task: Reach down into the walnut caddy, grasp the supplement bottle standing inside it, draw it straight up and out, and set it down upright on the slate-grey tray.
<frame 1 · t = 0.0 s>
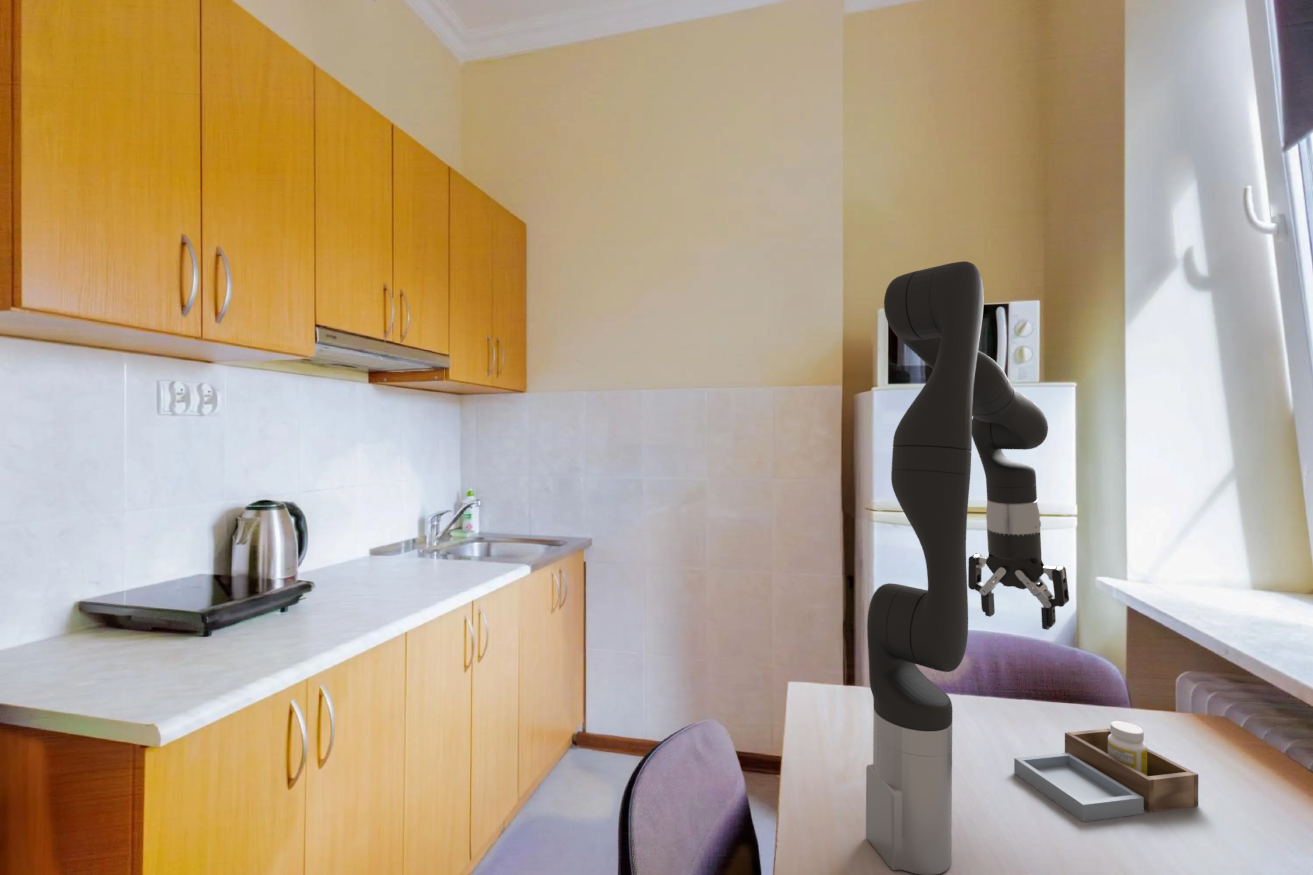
hand: (1017, 621, 97), 22 cm above the table, tool pointing down, fingers open, 8 cm apart
caddy: (1127, 781, 89), on the table
tray: (1075, 791, 86), on the table
supplement bottle: (1127, 782, 89), resting in caddy
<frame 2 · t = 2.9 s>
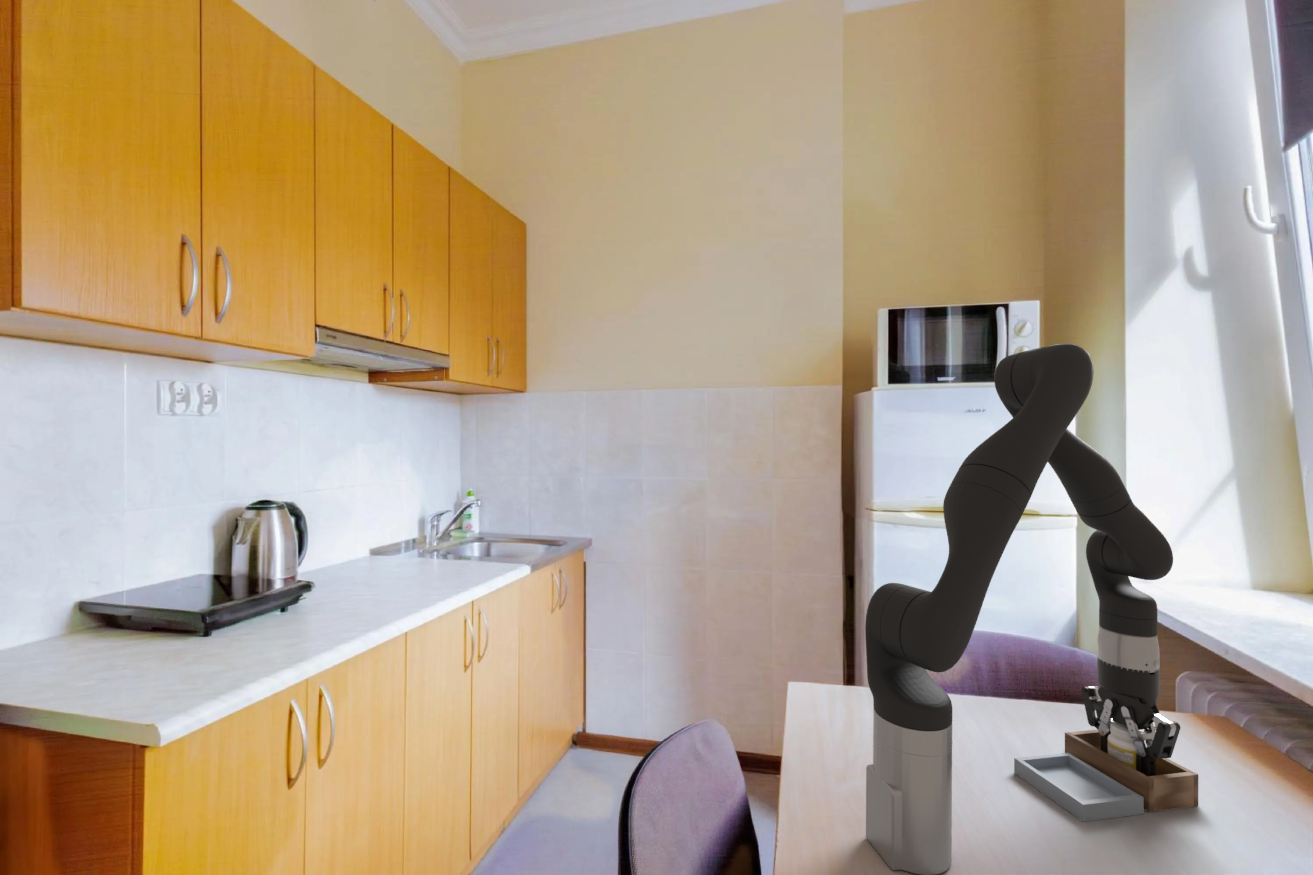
hand: (1127, 769, 89), 2 cm above the table, tool pointing down, fingers closed on supplement bottle, 4 cm apart
supplement bottle: (1127, 782, 89), resting in caddy, touching gripper
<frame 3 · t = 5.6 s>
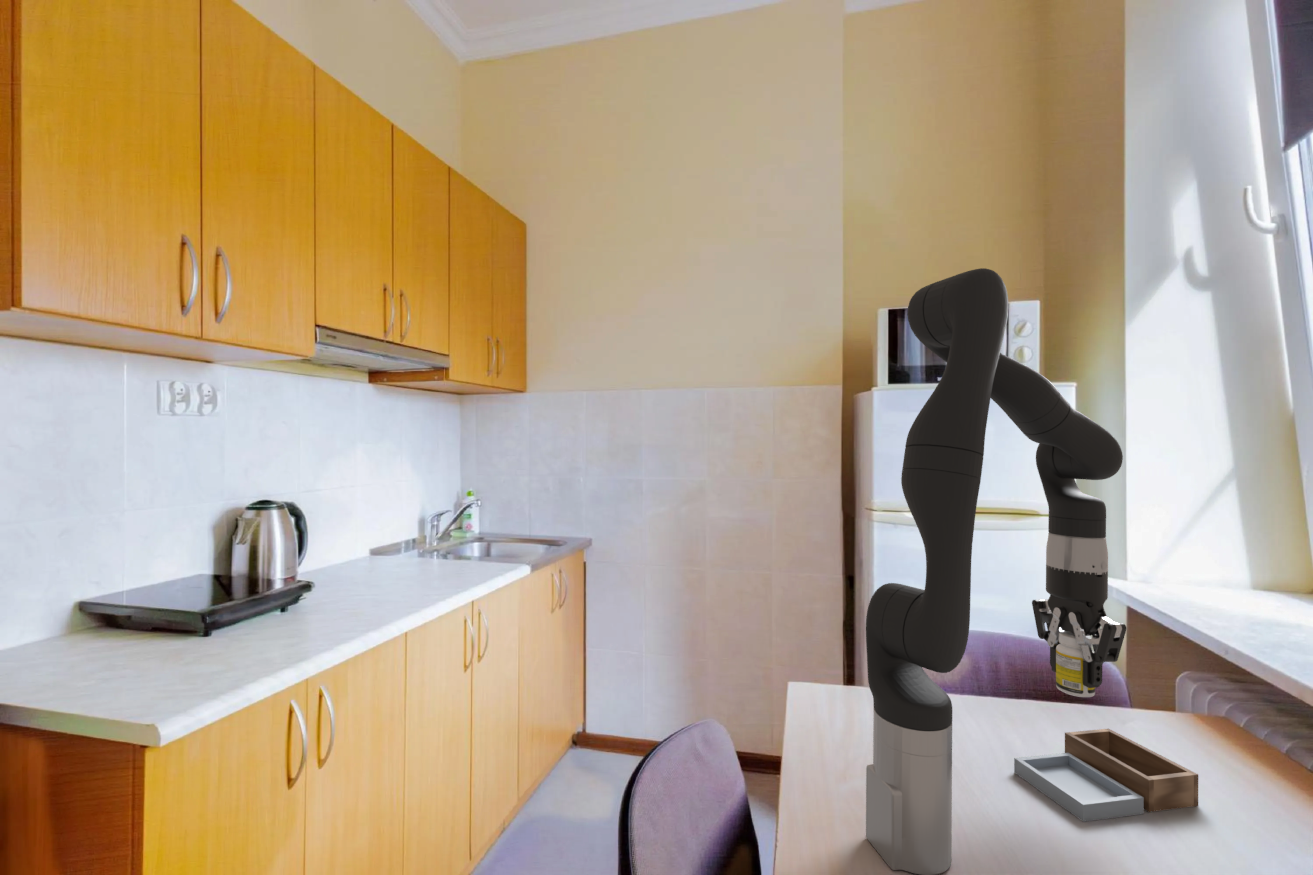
hand: (1075, 678, 86), 17 cm above the table, tool pointing down, fingers closed on supplement bottle, 4 cm apart
supplement bottle: (1074, 692, 86), point 15 cm above the table, touching gripper
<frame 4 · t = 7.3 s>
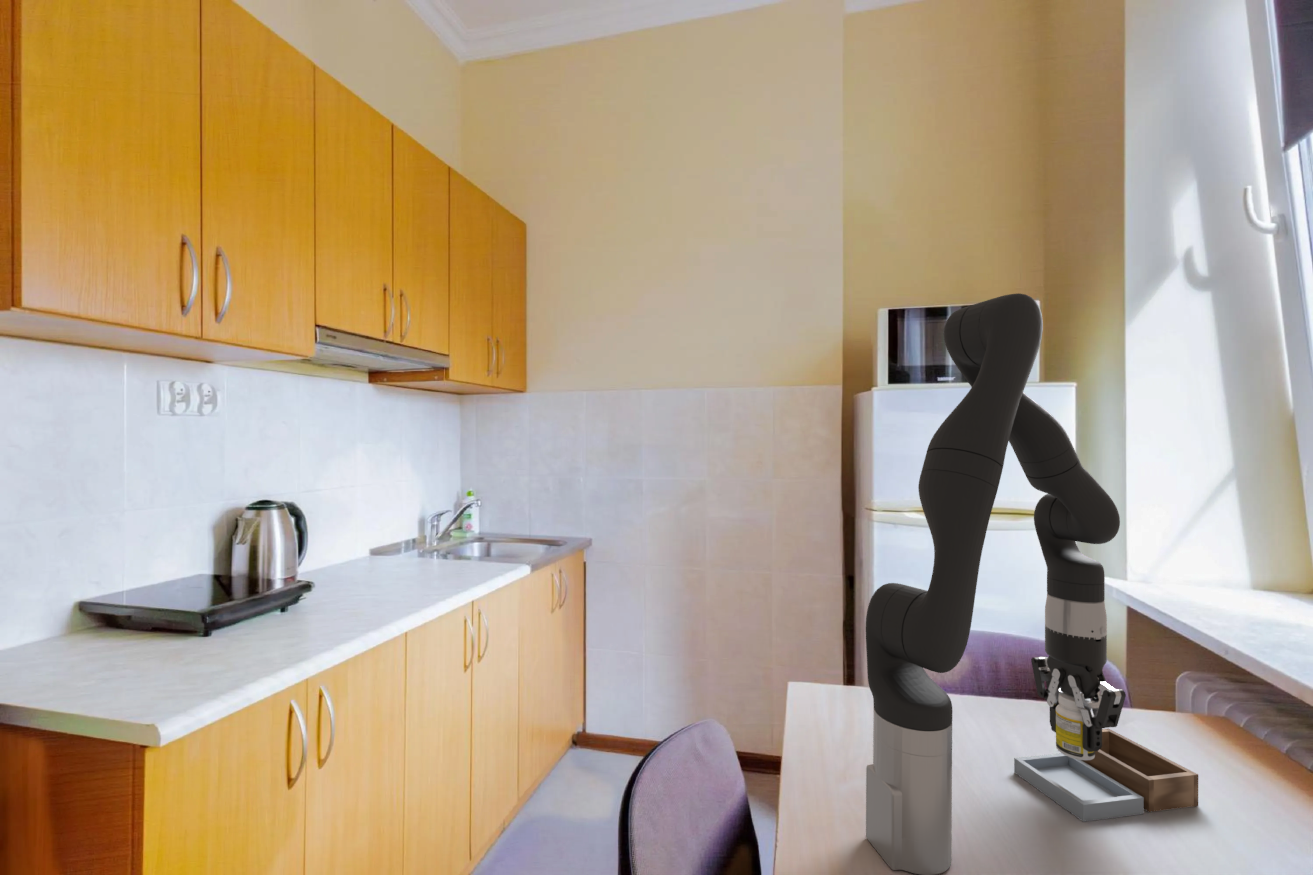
hand: (1074, 740, 86), 8 cm above the table, tool pointing down, fingers closed on supplement bottle, 4 cm apart
supplement bottle: (1074, 753, 86), point 6 cm above the table, touching gripper
when the fingers open (4 cm above the table, at t = 8.5 s): supplement bottle drops 1 cm, resting on tray.
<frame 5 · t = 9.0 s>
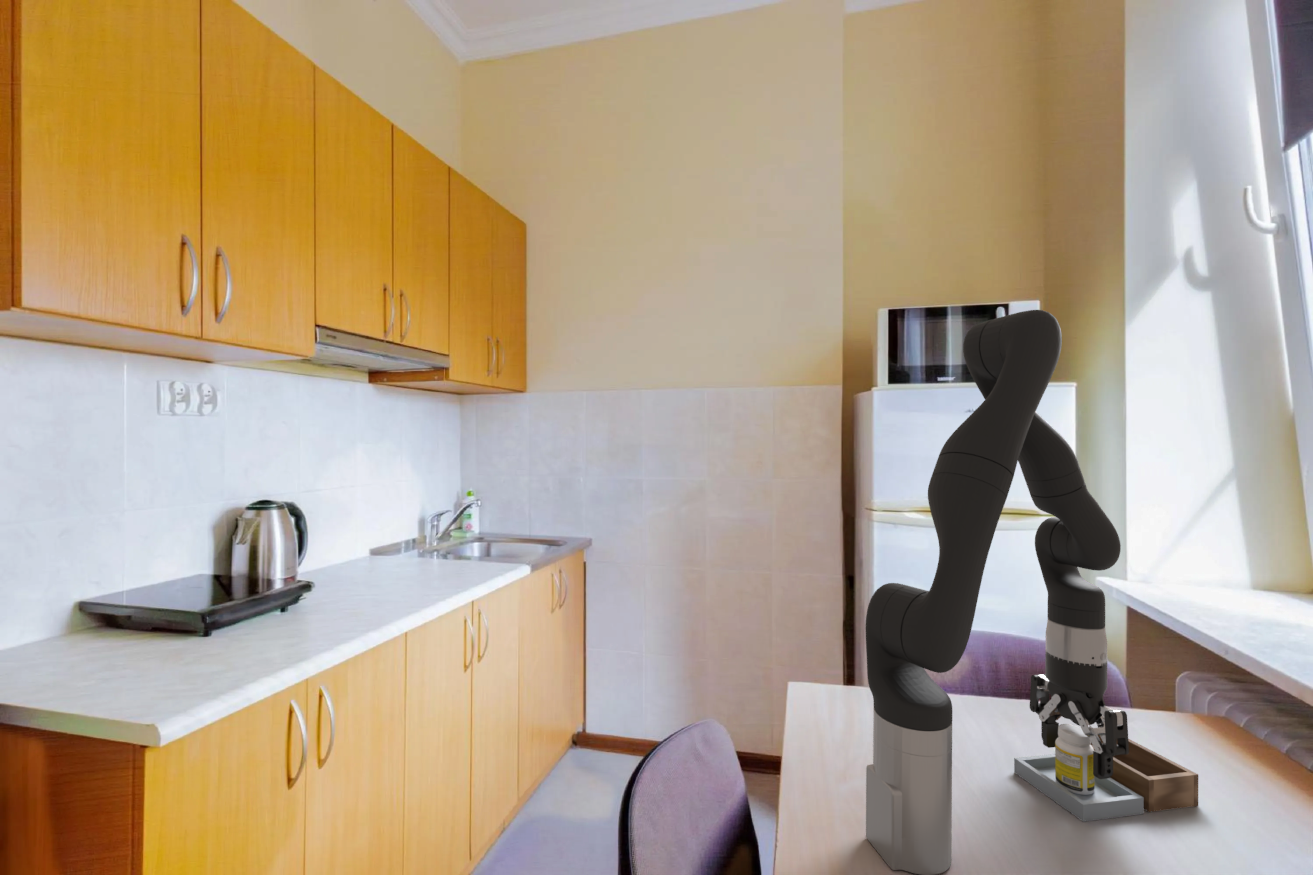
hand: (1075, 761, 86), 5 cm above the table, tool pointing down, fingers open, 8 cm apart
supplement bottle: (1074, 787, 86), point 1 cm above the table, touching tray
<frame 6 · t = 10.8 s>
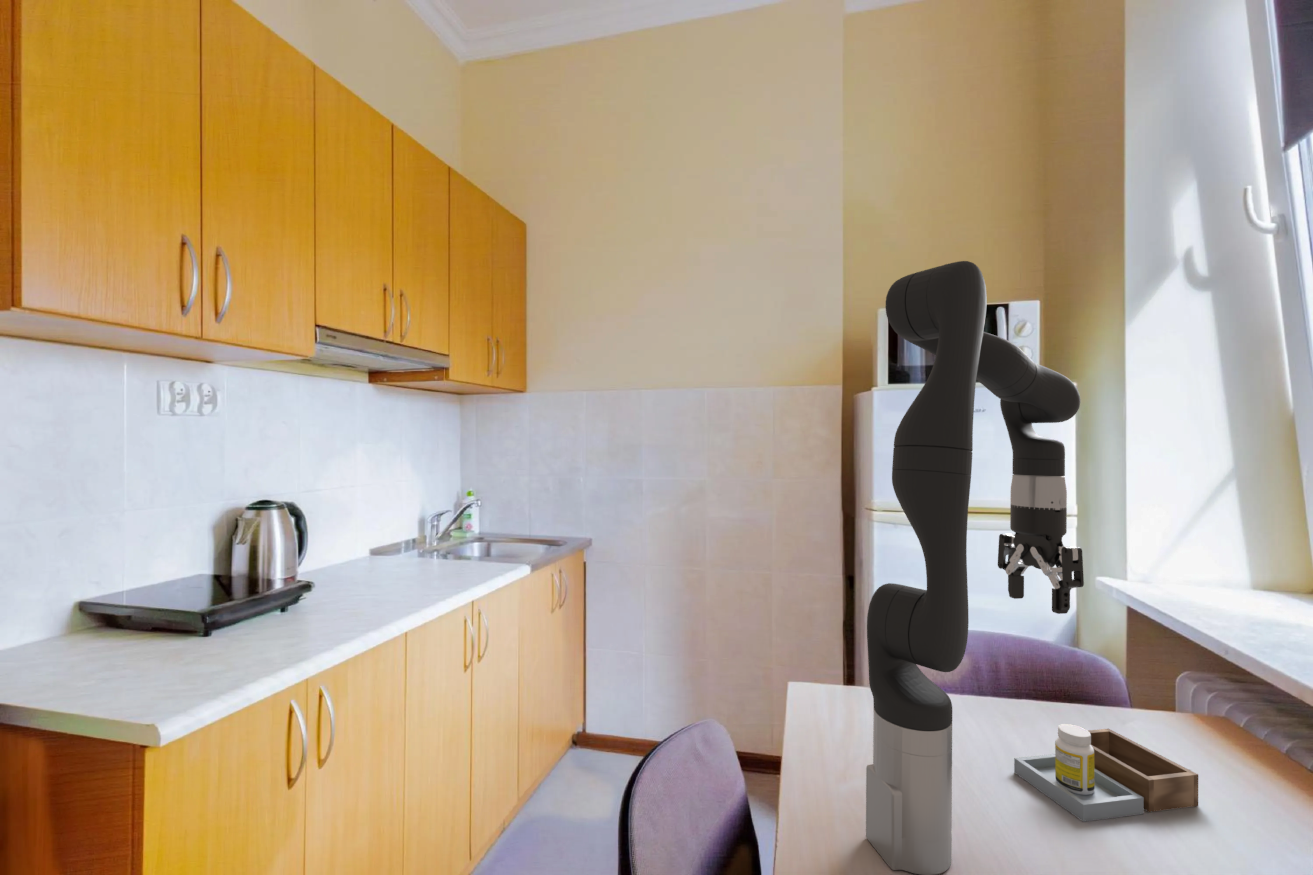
hand: (1037, 605, 92), 26 cm above the table, tool pointing down, fingers open, 8 cm apart
nothing on the table moved.
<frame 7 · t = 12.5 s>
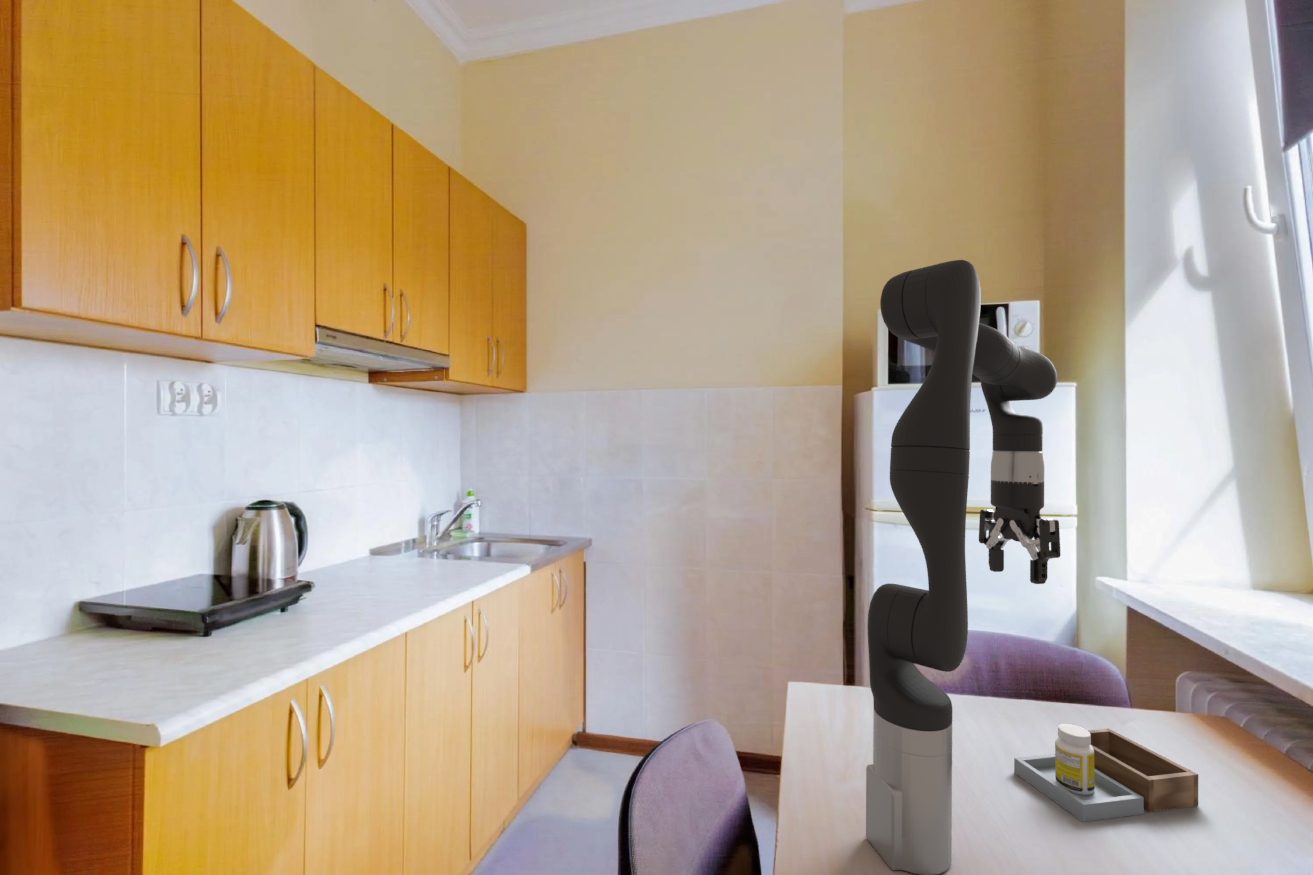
hand: (1016, 577, 95), 30 cm above the table, tool pointing down, fingers open, 8 cm apart
nothing on the table moved.
at the end: supplement bottle inside the target area on the tray (0.1 cm from its centre), point 0.6 cm above the tray's base; supplement bottle tilted 0°; the gripper is holding nothing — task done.
